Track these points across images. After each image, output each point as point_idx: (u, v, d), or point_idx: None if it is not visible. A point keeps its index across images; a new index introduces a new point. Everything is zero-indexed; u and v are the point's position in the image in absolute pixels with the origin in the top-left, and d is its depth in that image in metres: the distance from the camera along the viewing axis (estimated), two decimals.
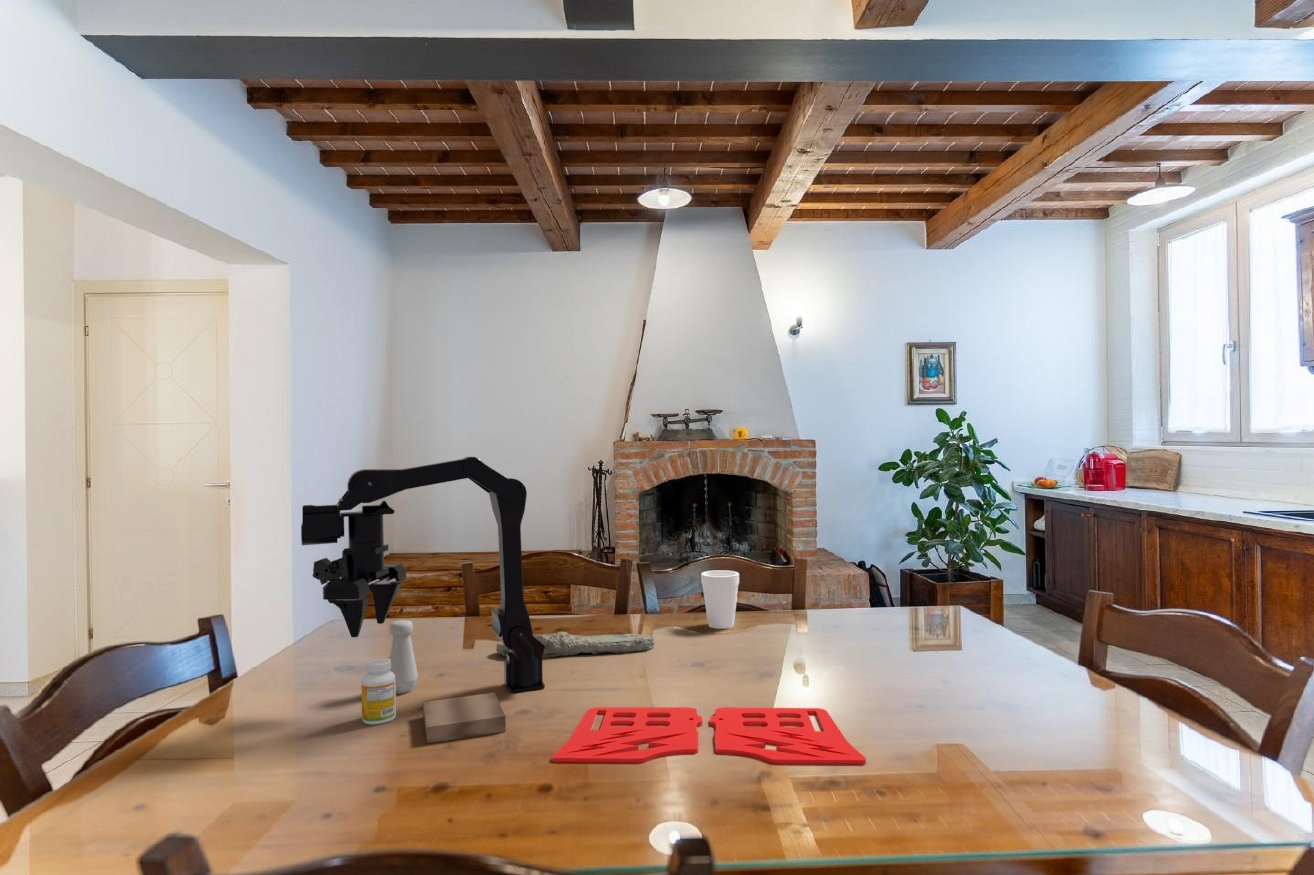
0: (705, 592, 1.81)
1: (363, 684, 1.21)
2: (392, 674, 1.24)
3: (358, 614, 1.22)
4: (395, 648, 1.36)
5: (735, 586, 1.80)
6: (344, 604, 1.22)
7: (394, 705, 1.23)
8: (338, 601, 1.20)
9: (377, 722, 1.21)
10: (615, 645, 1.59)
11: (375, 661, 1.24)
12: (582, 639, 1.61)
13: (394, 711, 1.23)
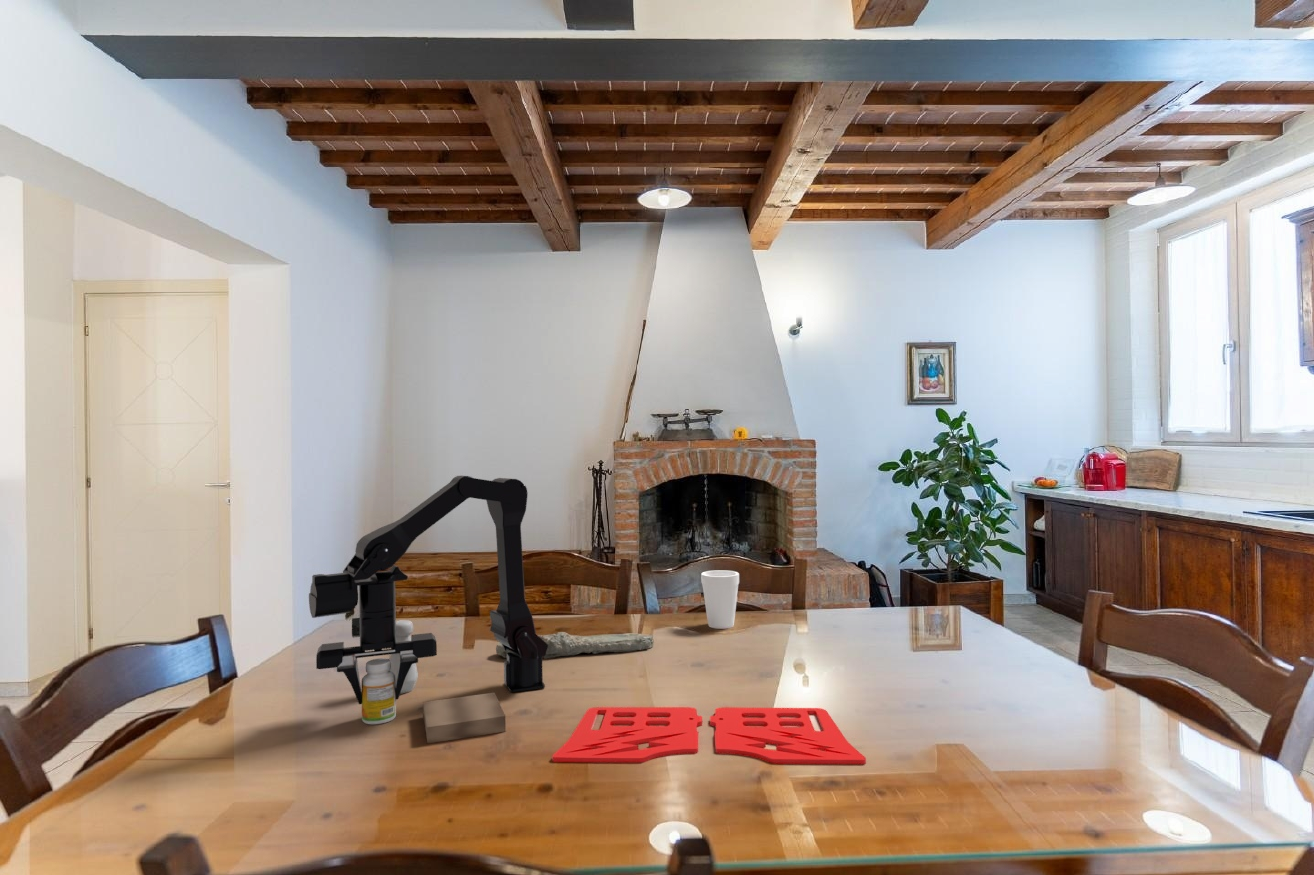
0: (705, 592, 1.81)
1: (363, 684, 1.21)
2: (392, 674, 1.24)
3: None
4: None
5: (735, 586, 1.80)
6: None
7: (394, 705, 1.23)
8: None
9: (377, 722, 1.21)
10: (616, 644, 1.60)
11: (375, 661, 1.24)
12: (582, 639, 1.61)
13: (394, 711, 1.23)
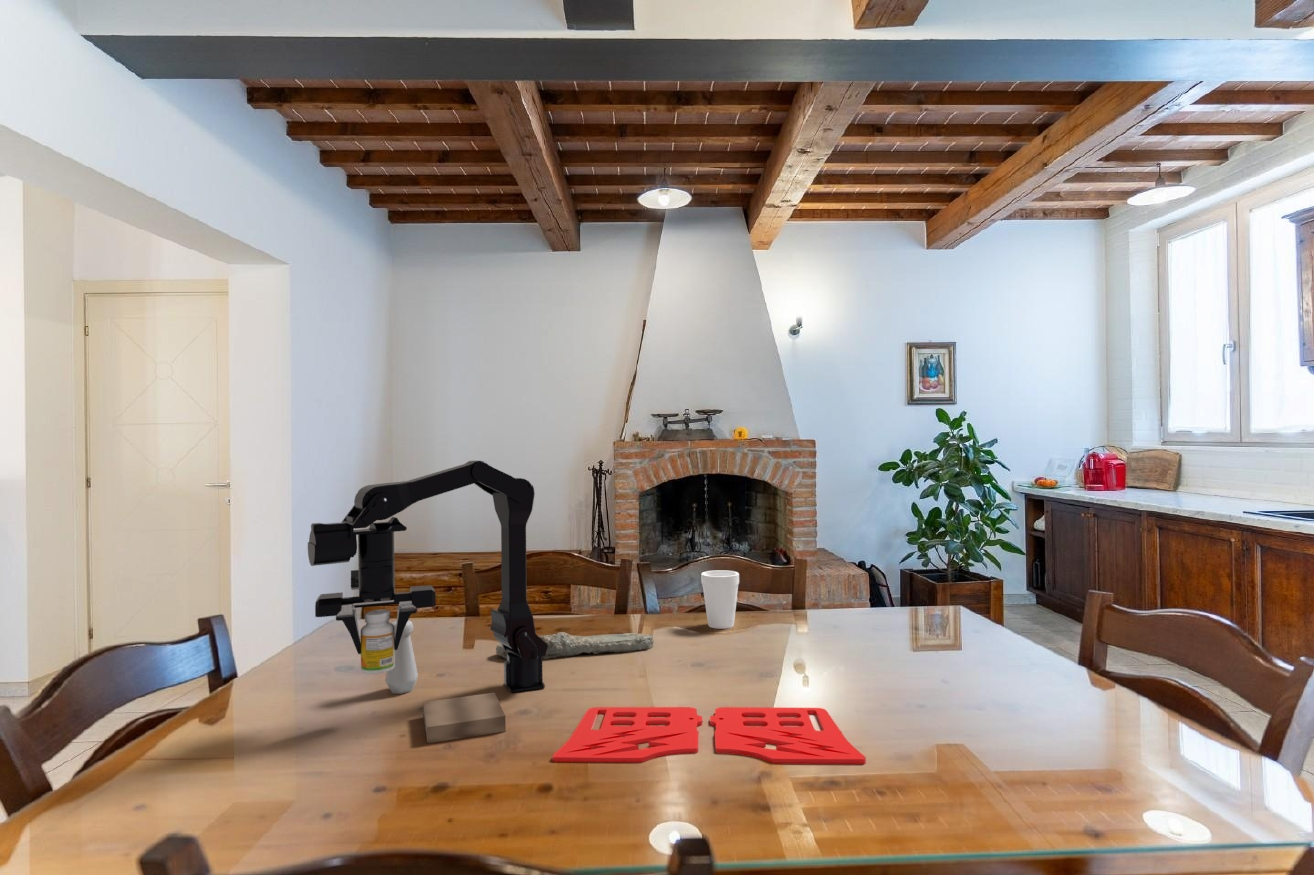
0: (705, 592, 1.81)
1: (362, 634, 1.21)
2: (391, 625, 1.24)
3: None
4: None
5: (735, 586, 1.80)
6: None
7: (393, 655, 1.23)
8: None
9: (376, 671, 1.21)
10: (616, 644, 1.60)
11: (374, 611, 1.24)
12: (582, 639, 1.61)
13: (393, 661, 1.23)
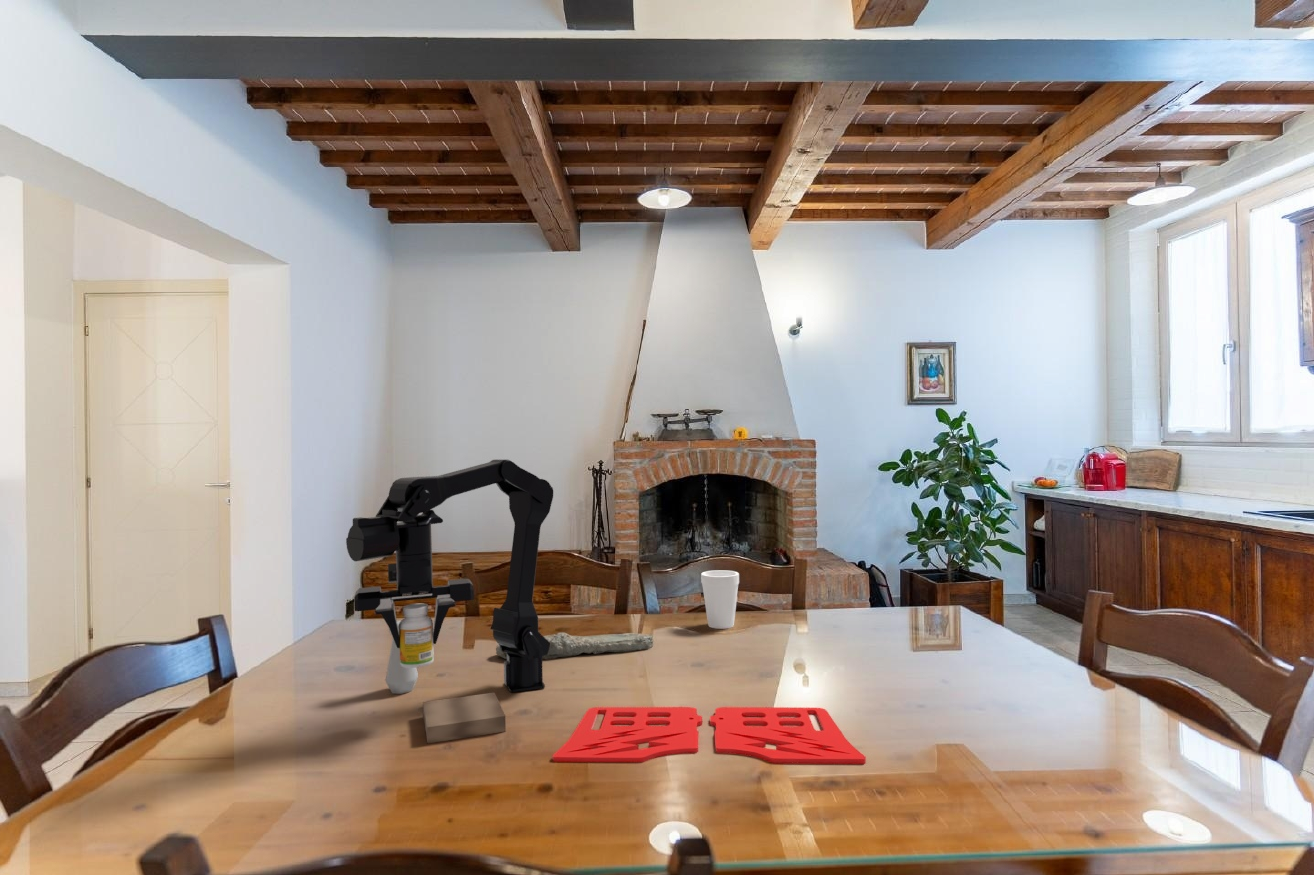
0: (705, 592, 1.81)
1: (401, 628, 1.20)
2: (429, 618, 1.22)
3: None
4: (395, 648, 1.36)
5: (735, 586, 1.80)
6: None
7: (432, 649, 1.22)
8: None
9: (415, 665, 1.20)
10: (617, 644, 1.60)
11: (412, 605, 1.23)
12: (583, 639, 1.61)
13: (432, 655, 1.22)
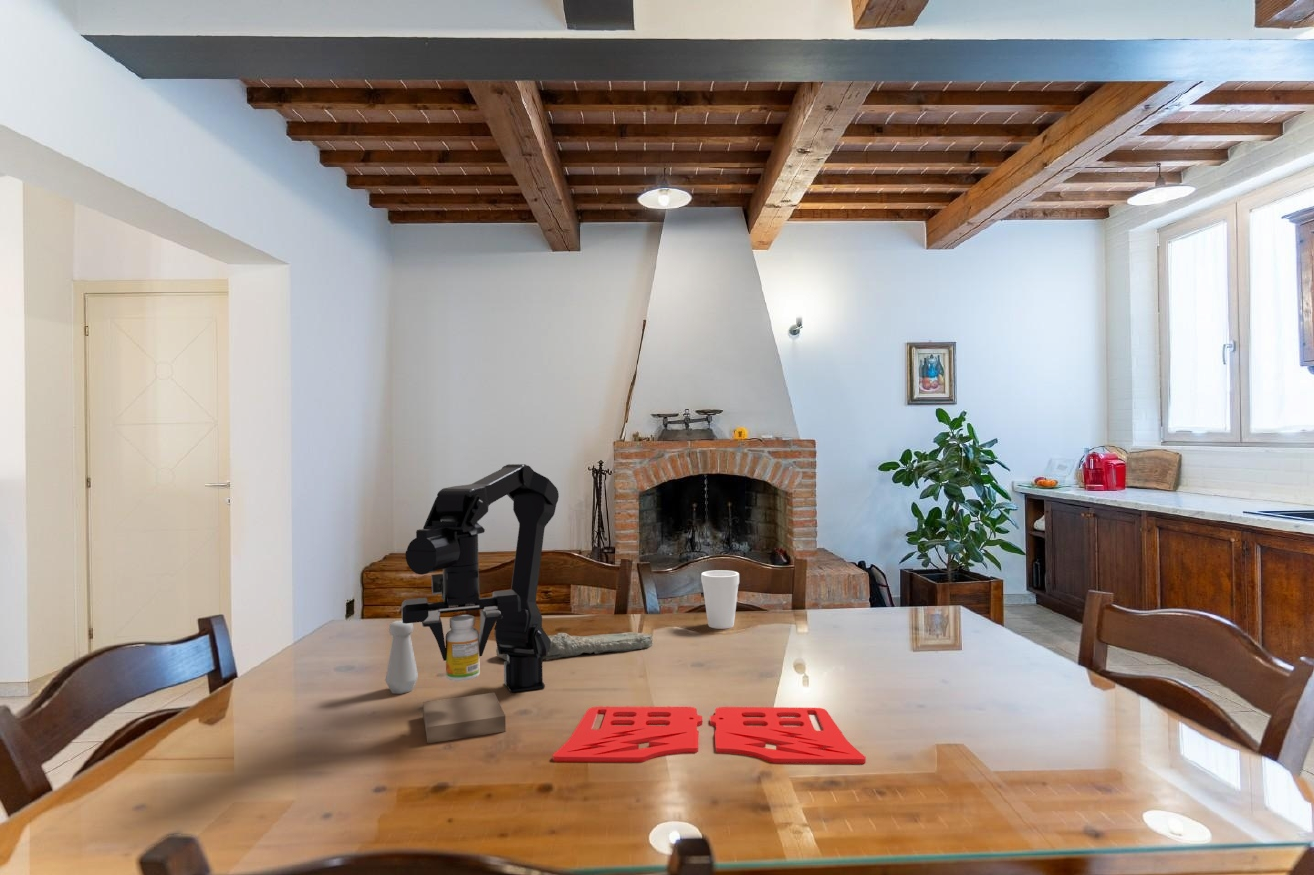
0: (705, 592, 1.81)
1: (448, 640, 1.19)
2: (476, 630, 1.21)
3: None
4: (395, 648, 1.36)
5: (735, 586, 1.80)
6: None
7: (478, 662, 1.20)
8: None
9: (463, 678, 1.18)
10: (617, 644, 1.60)
11: (458, 617, 1.21)
12: (583, 639, 1.61)
13: (478, 668, 1.20)
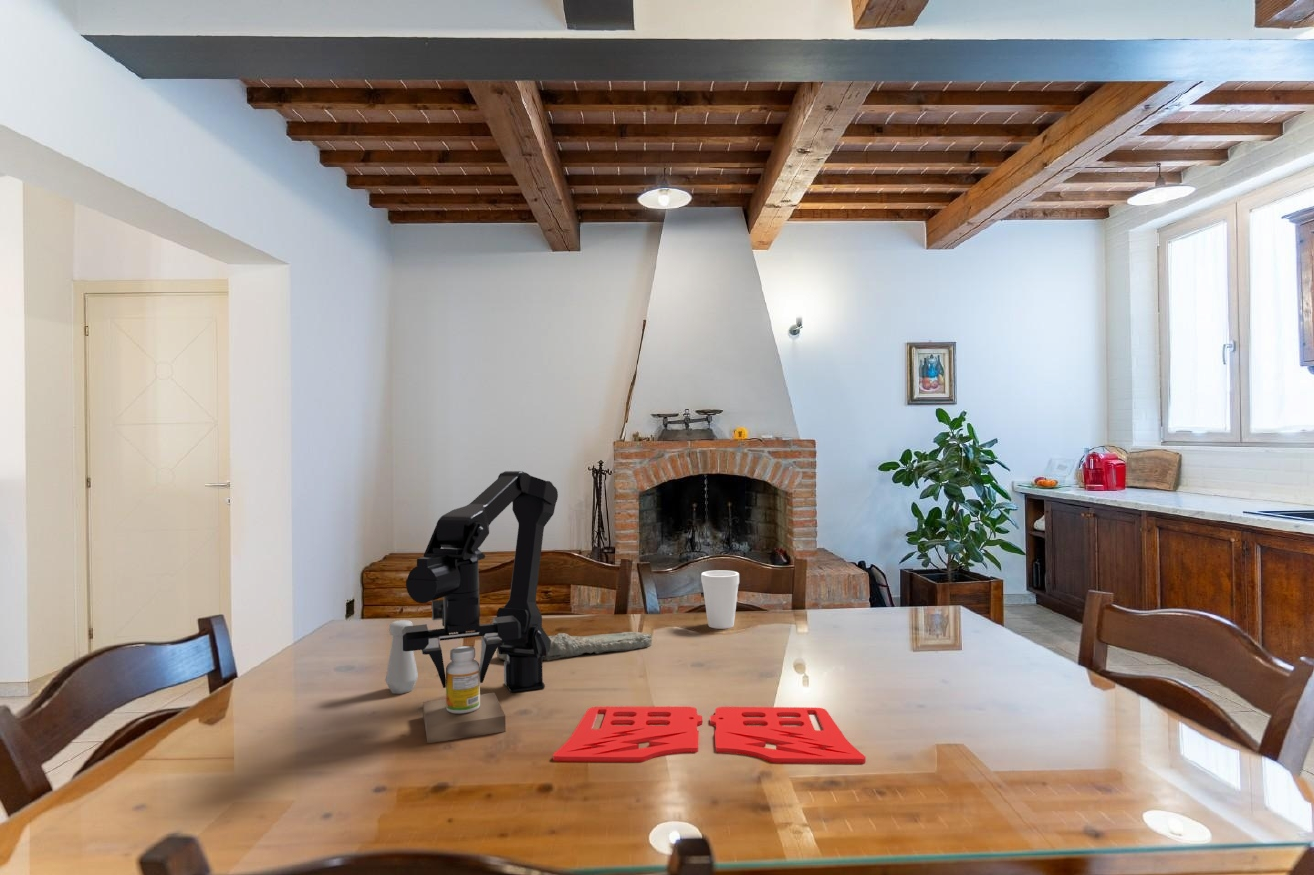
0: (705, 592, 1.81)
1: (448, 672, 1.18)
2: (476, 662, 1.21)
3: (435, 665, 1.18)
4: (395, 648, 1.36)
5: (735, 586, 1.80)
6: None
7: (479, 694, 1.20)
8: None
9: (463, 711, 1.18)
10: (618, 643, 1.60)
11: (459, 649, 1.21)
12: (583, 639, 1.61)
13: (479, 700, 1.20)
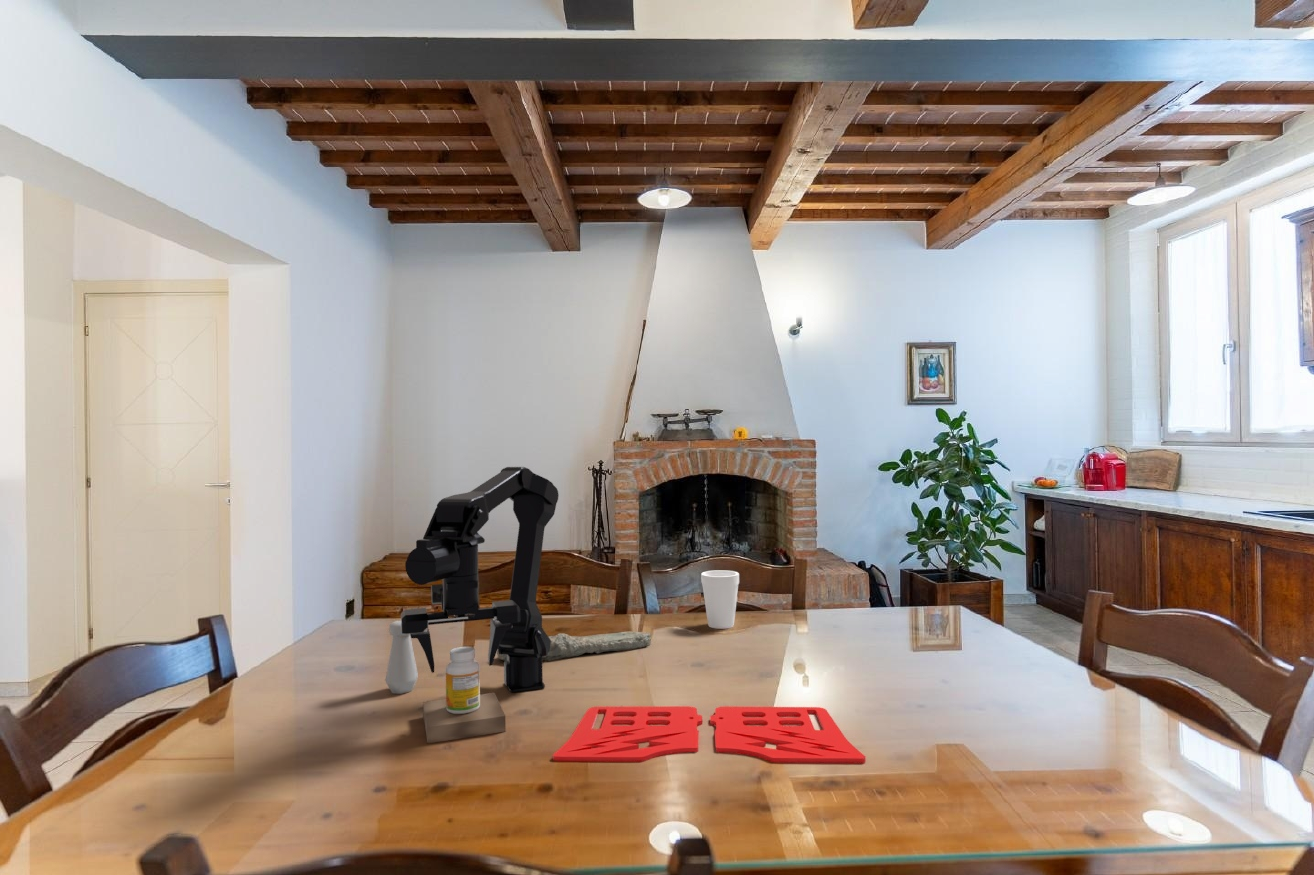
0: (705, 592, 1.81)
1: (448, 673, 1.18)
2: (476, 663, 1.21)
3: (423, 649, 1.17)
4: (395, 648, 1.36)
5: (735, 586, 1.80)
6: None
7: (479, 694, 1.20)
8: None
9: (463, 711, 1.18)
10: (618, 643, 1.61)
11: (459, 649, 1.21)
12: (583, 639, 1.61)
13: (479, 700, 1.20)
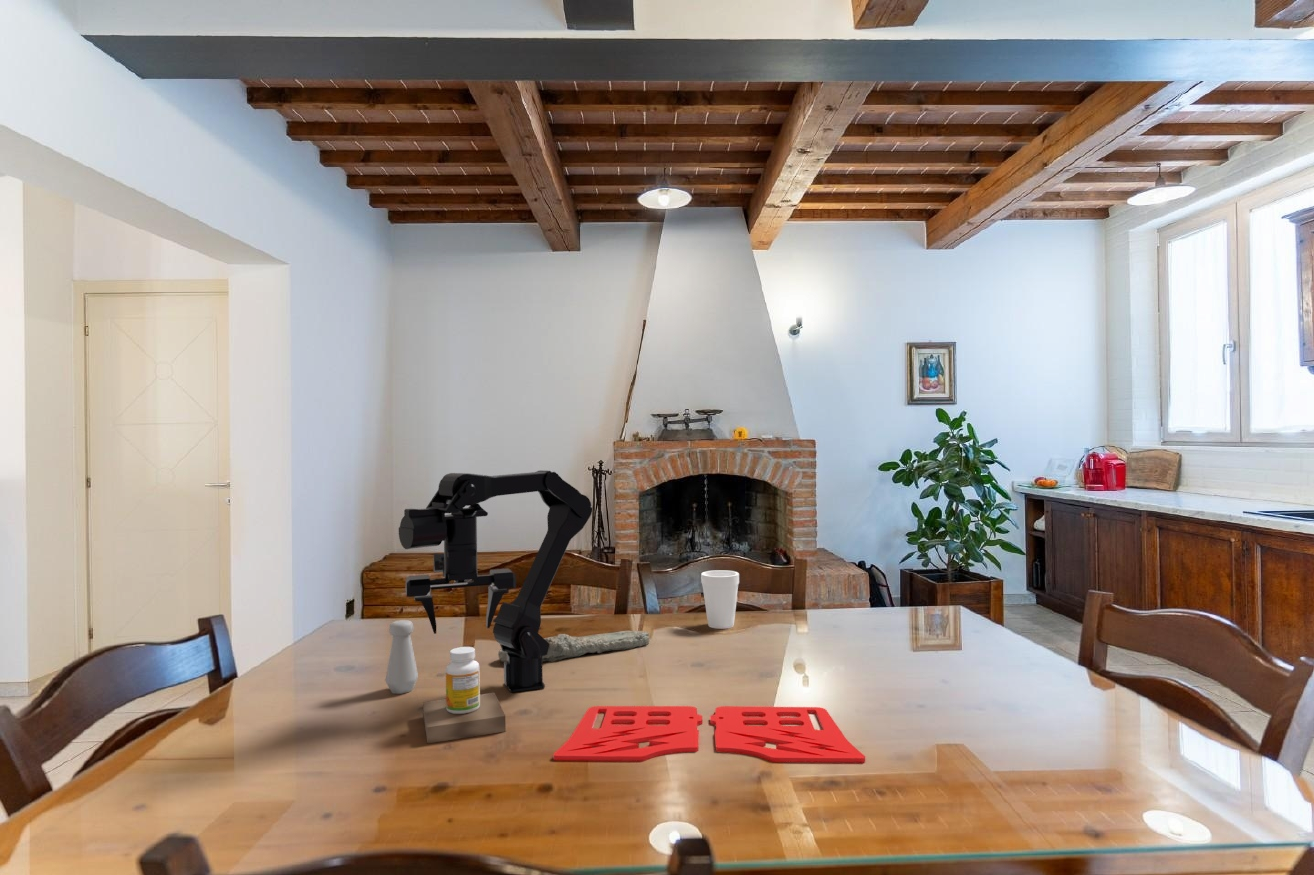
0: (705, 592, 1.81)
1: (448, 673, 1.18)
2: (476, 663, 1.21)
3: None
4: (395, 648, 1.36)
5: (735, 586, 1.80)
6: None
7: (479, 694, 1.20)
8: None
9: (463, 711, 1.18)
10: (619, 642, 1.61)
11: (459, 649, 1.21)
12: (584, 639, 1.61)
13: (479, 700, 1.20)
